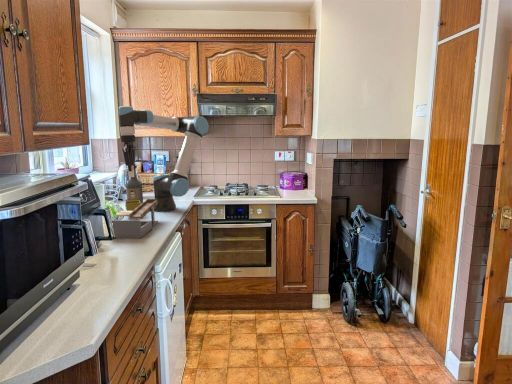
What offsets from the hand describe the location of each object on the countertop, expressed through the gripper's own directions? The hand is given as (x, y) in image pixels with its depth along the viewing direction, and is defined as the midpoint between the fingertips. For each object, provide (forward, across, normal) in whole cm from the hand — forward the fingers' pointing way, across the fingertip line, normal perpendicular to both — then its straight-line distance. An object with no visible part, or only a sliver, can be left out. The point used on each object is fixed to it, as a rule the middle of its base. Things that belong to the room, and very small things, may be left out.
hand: (131, 176), depth 204 cm
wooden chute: (+20, +7, +4) cm, 21 cm away
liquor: (+27, -34, -13) cm, 45 cm away
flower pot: (+26, -13, -6) cm, 30 cm away
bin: (+26, +25, +8) cm, 37 cm away
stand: (+26, +7, +9) cm, 28 cm away
